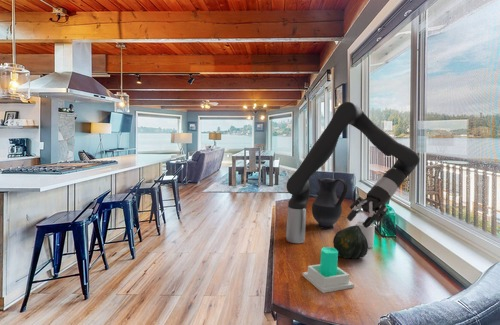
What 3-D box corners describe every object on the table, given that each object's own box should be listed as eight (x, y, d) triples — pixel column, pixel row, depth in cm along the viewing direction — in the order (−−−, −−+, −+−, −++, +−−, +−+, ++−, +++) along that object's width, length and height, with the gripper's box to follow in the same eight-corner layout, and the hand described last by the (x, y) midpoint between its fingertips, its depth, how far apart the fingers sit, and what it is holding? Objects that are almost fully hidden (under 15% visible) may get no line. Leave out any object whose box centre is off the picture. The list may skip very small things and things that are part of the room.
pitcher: (322, 221, 185) (325, 174, 182) (352, 230, 169) (355, 179, 167) (305, 225, 174) (307, 176, 171) (334, 235, 158) (338, 181, 155)
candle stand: (302, 275, 110) (303, 264, 109) (331, 271, 114) (331, 260, 114) (322, 293, 98) (323, 281, 97) (353, 287, 102) (354, 275, 102)
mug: (373, 250, 139) (375, 227, 138) (354, 247, 142) (355, 224, 141) (372, 242, 150) (373, 221, 149) (354, 239, 153) (355, 218, 152)
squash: (321, 241, 133) (343, 222, 124) (340, 236, 142) (361, 218, 134) (340, 269, 125) (364, 251, 117) (358, 262, 135) (381, 245, 127)
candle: (323, 272, 111) (325, 241, 110) (339, 277, 107) (341, 245, 106) (316, 277, 106) (318, 246, 105) (332, 283, 102) (334, 250, 101)
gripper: (364, 182, 117) (338, 211, 114) (392, 188, 104) (364, 221, 101) (373, 194, 119) (348, 223, 116) (402, 202, 106) (375, 235, 103)
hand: (356, 222), depth 108 cm, fingers open, 8 cm apart
